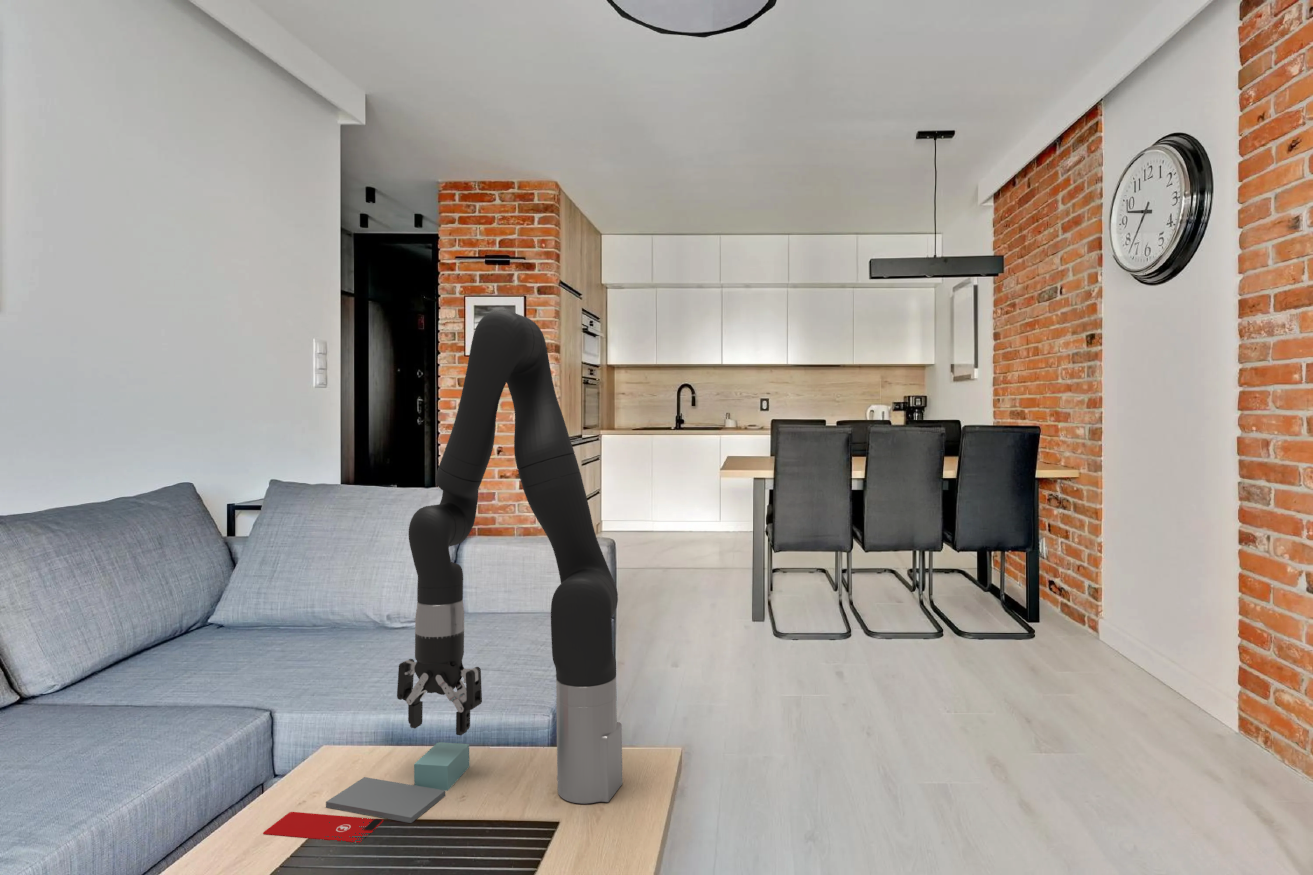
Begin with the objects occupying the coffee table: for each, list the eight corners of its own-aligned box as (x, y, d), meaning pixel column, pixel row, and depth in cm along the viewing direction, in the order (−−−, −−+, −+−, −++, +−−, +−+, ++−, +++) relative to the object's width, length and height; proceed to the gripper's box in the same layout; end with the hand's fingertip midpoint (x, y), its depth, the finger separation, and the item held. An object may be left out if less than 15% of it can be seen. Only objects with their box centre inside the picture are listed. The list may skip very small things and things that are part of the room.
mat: (445, 795, 106) (445, 790, 106) (411, 822, 98) (411, 817, 98) (364, 781, 111) (364, 776, 111) (325, 807, 103) (325, 801, 103)
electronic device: (261, 836, 96) (361, 846, 94) (261, 832, 96) (361, 841, 94) (290, 814, 102) (384, 822, 99) (290, 810, 102) (384, 818, 99)
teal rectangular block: (469, 768, 115) (469, 743, 115) (447, 791, 107) (447, 765, 108) (438, 766, 116) (437, 742, 116) (414, 789, 108) (414, 763, 108)
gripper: (491, 626, 113) (490, 726, 113) (417, 619, 118) (415, 715, 118) (465, 638, 106) (463, 745, 106) (387, 630, 111) (385, 732, 110)
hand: (438, 729), depth 112 cm, fingers open, 8 cm apart
